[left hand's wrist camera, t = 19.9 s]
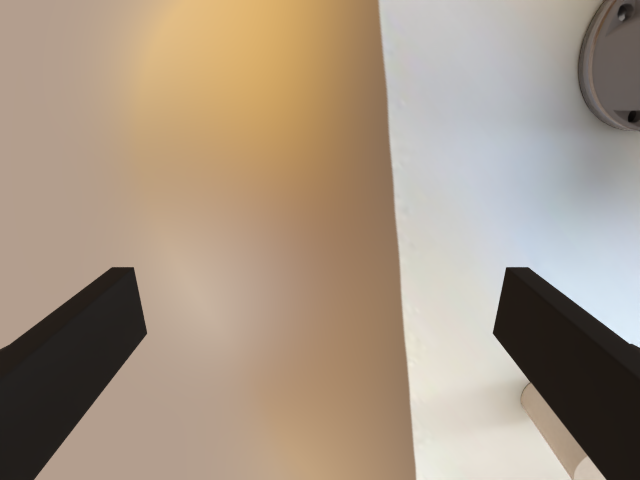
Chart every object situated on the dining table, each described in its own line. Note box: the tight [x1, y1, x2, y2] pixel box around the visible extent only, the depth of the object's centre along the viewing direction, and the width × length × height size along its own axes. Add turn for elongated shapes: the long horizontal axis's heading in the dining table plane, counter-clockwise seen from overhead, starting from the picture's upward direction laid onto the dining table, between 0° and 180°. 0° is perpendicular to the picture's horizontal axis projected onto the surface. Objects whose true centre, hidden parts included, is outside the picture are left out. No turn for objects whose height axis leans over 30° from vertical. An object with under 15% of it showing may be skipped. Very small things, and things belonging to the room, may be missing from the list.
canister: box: [521, 383, 606, 480], centre depth 44 cm, size 8×8×11 cm
